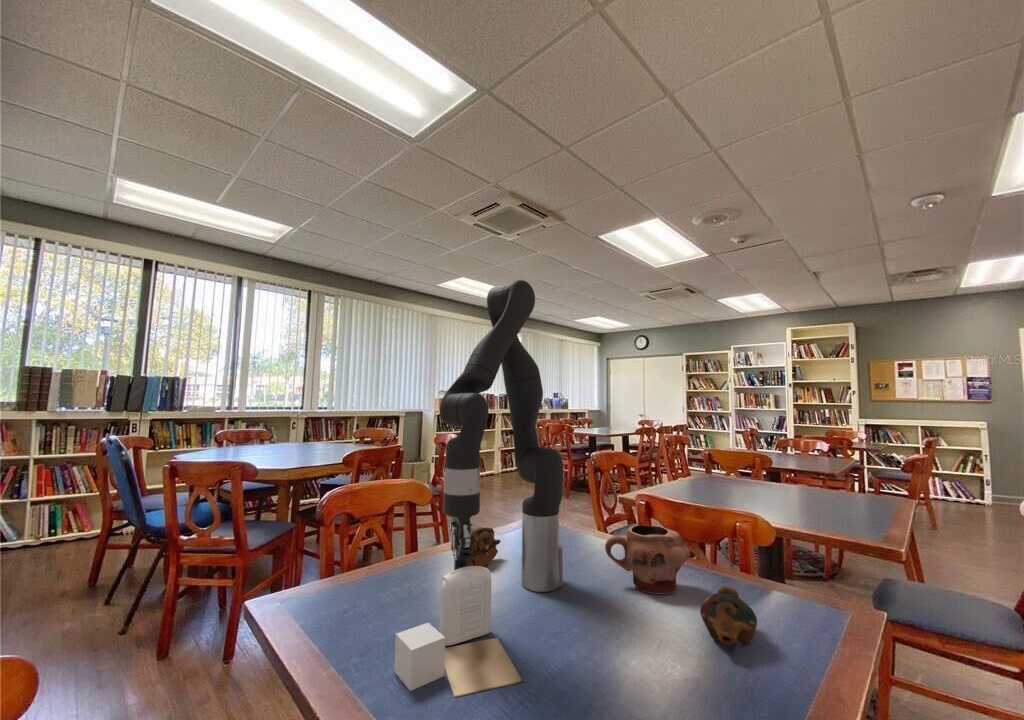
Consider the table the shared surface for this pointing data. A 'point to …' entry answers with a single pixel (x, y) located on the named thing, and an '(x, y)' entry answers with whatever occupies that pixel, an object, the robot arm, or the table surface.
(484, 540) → the wooden carving
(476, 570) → the photo printer
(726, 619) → the decorative turtle
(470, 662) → the cork mat
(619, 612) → the table surface
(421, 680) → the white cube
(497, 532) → the table surface
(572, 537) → the table surface
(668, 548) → the sculpted ceramic mug
